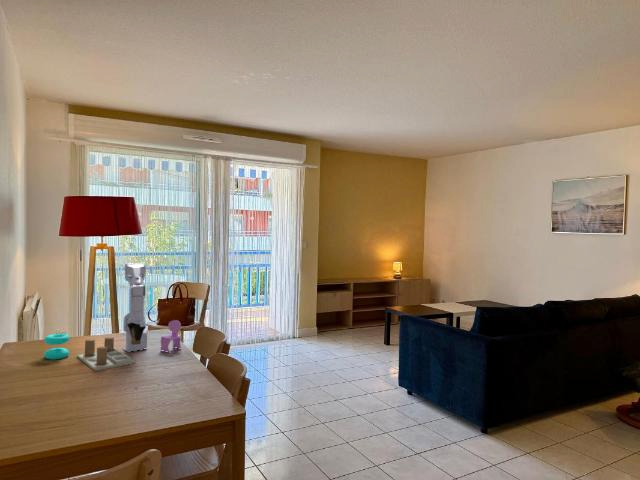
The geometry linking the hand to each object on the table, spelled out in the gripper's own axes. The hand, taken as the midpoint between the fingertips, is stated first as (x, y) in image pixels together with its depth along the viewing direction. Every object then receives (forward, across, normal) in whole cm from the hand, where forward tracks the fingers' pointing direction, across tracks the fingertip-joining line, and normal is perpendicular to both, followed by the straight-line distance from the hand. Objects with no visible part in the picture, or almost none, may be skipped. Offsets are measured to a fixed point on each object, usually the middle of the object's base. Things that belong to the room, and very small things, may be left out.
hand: (135, 339), depth 204 cm
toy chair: (+9, -2, +19) cm, 21 cm away
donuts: (+9, -23, -27) cm, 36 cm away
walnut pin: (+2, 0, 0) cm, 2 cm away
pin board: (+9, -5, -12) cm, 15 cm away
